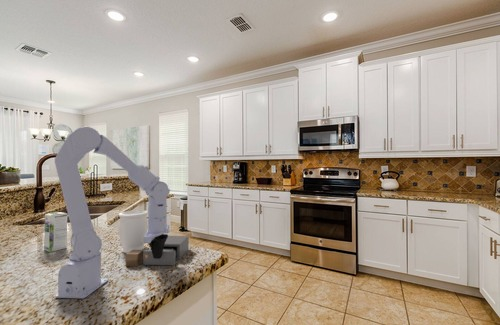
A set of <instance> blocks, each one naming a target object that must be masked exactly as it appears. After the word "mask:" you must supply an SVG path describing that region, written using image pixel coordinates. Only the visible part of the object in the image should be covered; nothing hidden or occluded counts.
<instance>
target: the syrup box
mask: <svg viewBox="0 0 500 325" xmlns="http://www.w3.org/2000/svg"><path fill="white" fill-rule="evenodd" d="M43 232H44V234H43V235H44V237H43V245H44V246H43V250H44V251H47V252H50V253H53V252H57V251H61V250H64V249H67V247H68V246H67V245H68V212H67V213H66V212H62V211H59V212H58V211H57V212H49V213H45V215H44V231H43Z"/></svg>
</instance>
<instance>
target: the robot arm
mask: <svg viewBox="0 0 500 325" xmlns="http://www.w3.org/2000/svg"><path fill="white" fill-rule="evenodd" d="M93 150H94V151H93ZM92 151H93V154H99V155H102V156H103V155H104V156H106V157H107V158H109V159H110V160H111V161H113V162H114V163H115V164H116V165H117V166H119V167H121V168H122V169H123V170H124V171H126V172H127V174H128V175H127V178H128V179H129V180H130V181H132V183H134V184H135V185H137V187H139V188H140V189H141V190H143V191H145V194H146V195H147V196H148V202H147V203H148V204H147V207H148V208H147V212H148V213H147V215H148V216H147V223H148V228H147V233H146V235H145V236H144V237H143V243H144V244H148V246H149V247H150V250H151V251H152V254H153V258H154V259H160V258H161V256H162V252H163V248H164V244H165V242H166V239H167V238H168V236H169V234H168V233H170V232H171V229H170V224H167V223H168V222H167V221H168V219H167V211H168V210H167V209H168V208H167V207H168V206H167V205H168V204H167V197H168V196H169V195H170V188H169V185H168V184H167V182H164V181H160V179H161V178H160V177H159V176H156V175H155V174H154V173H152V172H151V171H150V170H149V169H150V168H149V166H148V165H145V166H144V165H143V164H136V163H135V162H133V161H132V160H131V158H129V157H128V156H127V155H126V154H125V153H124V152H123V151H122V150H121V149H119V148H118V147H117V145H115V144H114V142H112V141H111V140H110V139H108V138H107V137H106V136H105V135H103V134H100V133H99V131H98V130H96V129H95V128H94V127H91V126H81V127H78V128H76V129H75V130H74V131H72V132H71V133H70V134H69V135H67V137H66V139H64V142H63V143H62V145H61V147H60V149H59V150H58V153H57V154H56V156H55V158H54V164H55V169H56V172H57V177H58V180H59V183H60V188H61V193H62V196H63V200H64V204H65V207H66V211H67V217H68V220H69V223H70V227H71V237H70V239H69V240H70V245H71V247H72V251H71V253H70V254H69V258H68V261H67V262H66V263H65V264H64V265H62V267H61V268H60V269H59V271H58V275H57V276H58V277H57V281H58V283H57V287H58V288H57V294H55V295H54V298H56V299H57V298H59V299H61V298H63V299H85V298H87V297H88V296H89V295H91V294H92V293H93V292H95V291H96V290H97V289H99V288H100V287H102V286H103V285H104V284H105V283H107V282H108V281H109V278H102V250H101V249H102V245H103V244H102V239H101V238H100V236H99V235H97V232H96V231H95V227H94V225H93V222H92V219H91V218H92V217H91V215H90V210H89V207H88V203H87V199H86V195H85V191H84V186H83V182H82V178H81V174H80V170H79V166H78V164H79V163H80V162H81V161H82V160H83V159H84V157H85V156H86V155H87V154H88V153H90V152H92Z"/></svg>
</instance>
